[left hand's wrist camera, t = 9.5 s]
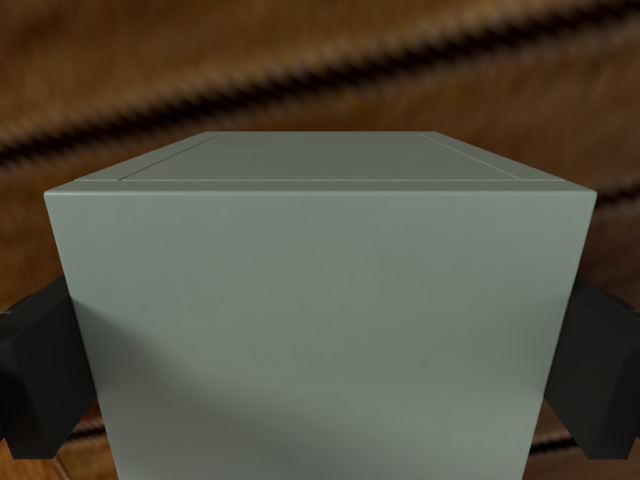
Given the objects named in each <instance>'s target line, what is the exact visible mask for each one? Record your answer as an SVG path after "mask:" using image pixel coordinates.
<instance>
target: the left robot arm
mask: <svg viewBox="0 0 640 480" xmlns="http://www.w3.org/2000/svg"><path fill="white" fill-rule="evenodd" d="M96 397H97V394H96V391H95V387H94V383H93V379H92V376H91V372H90V368H89V364H88V361H87V357H86V353H85V349H84V345H83V342H82V338H81V334H80V330H79V327H78V323H77V319H76V315H75V312H74V308H73V304H72V300H71V297H70V293H69V289H68V285H67V281H66V278H65V274H64V273H63V274H62V275H61V276H59V277H58V278H57V279H55V280H54V281H53V282H51V283H50V284H48V285H47V286H46V287H44V288H43V289H42V290H40V291H38V292H36V293H34V294H32V295H29V296H27V297H25V298H23V299H21V300H19V301H18V302H17V303H15V304H14V305H12V306H11V307H10V308H8V309H7V310H5V311H4V314H0V441H1V440H2V439H3V438H4V437H5V439H6V442H7V444H8V447H9V449H10V452H11V454H12V457H13V459H53V457H54V456H55V454H56V453H57V452H58V450H59V449H60V447H61V446H62V445H63V443H64V442H65V440H66V439H67V438H68V436H69V435H70V433H71V432H72V431H73V429H74V428H75V426H76V425H77V424H78V422H79V421H80V419H81V418H82V417H83V415H84V414H85V413H86V411H87V410H88V408H89V407H90V406H91V404H92V403H93V401H94V400H95V399H96ZM544 398H545V399H546V401H547V402H548V404H549V405H550V406H551V408H552V409H553V411H554V412H555V413H556V415H557V416H558V417H559V419H560V420H561V422H562V423H563V424H564V426H565V427H566V429H567V430H568V431H569V433H570V434H571V436H572V437H573V438H574V440H575V441H576V443H577V444H578V445H579V447H580V448H581V450H582V451H583V452H584V454H585V455H586V456H587V458H588V459H627V458H628V456H629V453H630V451H631V448H632V446H633V443H634V441H635V439H636V436H638V437H639V439H640V312H637V310H636V309H635V308H634V307H632V306H631V305H629V304H628V303H627V302H625V301H624V300H622V299H621V298H619V297H617V296H615V295H613V294H610V293H608V292H606V291H604V290H602V289H599V288H596V287H595V286H593V285H592V284H591V283H589V282H588V281H587V280H585V279H584V278H582V277H581V276H580V275H578V274H577V273H576V277H575V280H574V284H573V288H572V292H571V296H570V299H569V303H568V307H567V311H566V314H565V318H564V322H563V326H562V329H561V333H560V337H559V341H558V344H557V348H556V352H555V356H554V360H553V363H552V367H551V371H550V375H549V378H548V382H547V386H546V390H545V393H544Z"/></svg>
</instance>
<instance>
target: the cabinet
mask: <svg viewBox="0 0 640 480" xmlns="http://www.w3.org/2000/svg"><path fill="white" fill-rule="evenodd" d="M596 198H597V193H596V192H595V191H593V190H591V189H588V188H585V187H583V186H580V185H577V184H575V183H572V182H569V181H566V180H564V179H562V178H559V177H556V176H554V175H551V174H548V173H546V172H543V171H540V170H537V169H535V168H532V167H529V166H527V165H524V164H521V163H518V162H516V161H513V160H510V159H508V158H505V157H502V156H499V155H497V154H494V153H491V152H489V151H486V150H483V149H481V148H478V147H475V146H472V145H470V144H467V143H464V142H462V141H459V140H456V139H453V138H451V137H448V136H445V135H443V134H440V133H437V132H204V133H201V134H198V135H195V136H192V137H190V138H187V139H184V140H181V141H179V142H176V143H173V144H171V145H168V146H165V147H162V148H160V149H157V150H154V151H152V152H149V153H146V154H143V155H141V156H138V157H135V158H133V159H130V160H127V161H124V162H122V163H119V164H116V165H114V166H111V167H108V168H105V169H103V170H100V171H97V172H95V173H92V174H89V175H86V176H84V177H81V178H78V179H76V180H74V181H72V182H69V183H66V184H64V185H61V186H58V187H56V188H53V189H50V190H48V191H45V193H44V199H45V202H46V206H47V210H48V214H49V217H50V221H51V225H52V229H53V232H54V236H55V240H56V244H57V248H58V251H59V255H60V259H61V263H62V266H63V270H64V274H65V278H66V281H67V285H68V289H69V293H70V297H71V300H72V304H73V308H74V312H75V315H76V319H77V323H78V327H79V330H80V334H81V338H82V342H83V345H84V349H85V353H86V357H87V361H88V364H89V368H90V372H91V376H92V379H93V383H94V387H95V391H96V394H97V398H98V402H99V406H100V410H101V413H102V417H103V421H104V425H105V428H106V432H107V436H108V440H109V443H110V447H111V451H112V455H113V459H114V462H115V466H116V470H117V474H118V477H119V480H522V476H523V473H524V469H525V465H526V461H527V458H528V454H529V450H530V446H531V442H532V439H533V435H534V431H535V427H536V424H537V420H538V416H539V412H540V409H541V405H542V401H543V397H544V393H545V390H546V386H547V382H548V378H549V375H550V371H551V367H552V363H553V360H554V356H555V352H556V348H557V344H558V341H559V337H560V333H561V329H562V326H563V322H564V318H565V314H566V311H567V307H568V303H569V299H570V296H571V292H572V288H573V284H574V280H575V277H576V273H577V269H578V265H579V262H580V258H581V254H582V250H583V247H584V243H585V239H586V235H587V231H588V228H589V224H590V220H591V216H592V213H593V209H594V205H595V201H596Z"/></svg>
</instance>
